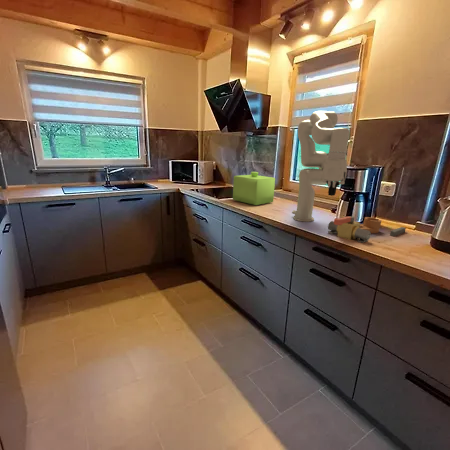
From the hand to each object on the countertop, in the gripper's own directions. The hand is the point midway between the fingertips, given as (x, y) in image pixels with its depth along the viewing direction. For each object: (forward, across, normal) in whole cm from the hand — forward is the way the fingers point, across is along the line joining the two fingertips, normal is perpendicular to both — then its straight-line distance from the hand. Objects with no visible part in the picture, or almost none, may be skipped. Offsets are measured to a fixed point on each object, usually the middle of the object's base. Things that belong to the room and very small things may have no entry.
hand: (331, 195), depth 132 cm
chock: (+22, +18, +41) cm, 49 cm away
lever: (+13, +6, +11) cm, 18 cm away
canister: (+21, -87, +31) cm, 95 cm away
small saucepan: (+22, +5, +28) cm, 36 cm away
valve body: (+22, +6, +11) cm, 25 cm away
